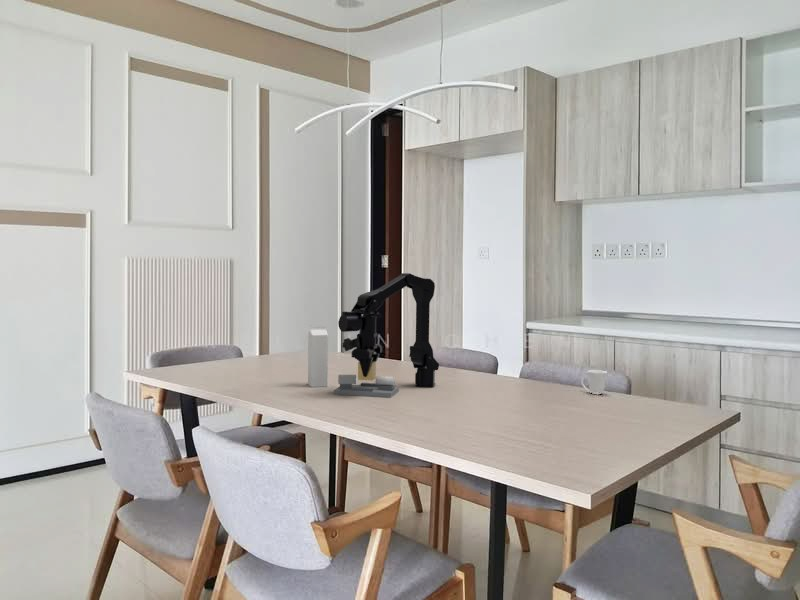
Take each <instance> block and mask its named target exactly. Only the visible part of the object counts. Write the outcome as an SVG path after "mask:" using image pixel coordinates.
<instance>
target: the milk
mask: <svg viewBox="0 0 800 600" xmlns="http://www.w3.org/2000/svg"><path fill="white" fill-rule="evenodd" d="M307 336H308V343H307V344H308V347H307V348H308V349H307V350H308V351H307V352H308V353H307V355H308V356H307V385H308V386H309V387H311V388H322V387H323V388H324V387H325V388H327V387H328V372H329V370H328V369H329V367H328V365H329V364H328V363H329V360H328V359H329V356H328V355H329V334H328V331H327V325H310V327H309V331H308V335H307Z"/></svg>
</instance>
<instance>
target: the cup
mask: <svg viewBox="0 0 800 600" xmlns="http://www.w3.org/2000/svg"><path fill="white" fill-rule="evenodd" d="M608 373H609V372H608V371H605V370H600V369H591V370H590V369H589V370H587V371H586V372H584V373H582V375H581V379H580V381H581V382H580V384H581V386H582V387H583V389H585V391H586V392H588V393H589V392H601V393H602V394H603V395H604V393H603V392H604V391H605V388H606V384H607V379H608V378H607V377H608ZM586 375H587V380H588V386H589V389H588V388H587V386H585V384H584V377H585V376H586ZM592 394H594V393H592ZM592 394H591V395H592Z"/></svg>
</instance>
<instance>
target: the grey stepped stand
mask: <svg viewBox="0 0 800 600" xmlns="http://www.w3.org/2000/svg"><path fill="white" fill-rule="evenodd" d="M337 375H338V376H337V377H338V379H337V381H338V382H337V383H338V385H339V386H338V387H336V388H335V389H333V395H340V396H342V395H343V396H356V397H373V398H388V399H389V398H390V399H391V398H393V396H395V395H396V394H398V393H399V391H400V387H398V386H396V385H395V381H396V380H395V378H396V377H394V376H387V375H386V376H383V375H382V376H381V375H376V378H375V382H374V383H373V382H360V384H357V374H337Z"/></svg>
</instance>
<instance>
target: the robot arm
mask: <svg viewBox="0 0 800 600" xmlns="http://www.w3.org/2000/svg"><path fill="white" fill-rule="evenodd" d="M406 287H407V288H408V289H410V290H411V292H412V297H413V298H414V301H415V304H416V305H415V306H416V307H415V308H416V309H415V340H414V341H415V342H414V343H413V345H410V346H409V356H408V357H409V358H410V362H411V363H412V366H413V368H414V369H416V372H415V375H414V376H415V377H414V378H415V380H414V381H415V382H414V383H415V387H421V388H422V387H423V388H424V387H425V388H428V387H429V388H433V387H435V386H436V383H435V382H436V379H435V377H436V371H438V370H439V367H440V364H439V362H438V361H437V360H436V359H435V357H434V349H433V347H432V344H431V343H430V311H431V309H430V304H431V301H432V300H433V298H434V295H435V288H436V285H435V282H434V280H432V279H431V278H426V277H425V278H423V277H420V276H417V275H414V274H412V273H411V272H409V273H408V272H406V273H405V272H403V273H400V274H399V275H398V276H397V277H395V278H393V279H391V280H390V281H389V282H387V283H385V284H384V285H382V286H380V287H379V288H377V289H373V290H371V291H367V292H364V293H362V294H360V295H358V296H357V301H356V303H355V304H354V305H353V307H352V309H351V310H350V311H342V312H341V315H340V317H339V319H338V323H337V324H338V327H339V330H340V331H341V332H342V333H344V332H345V333H346V332H358V331H359V333H357V334H356V337H355V338H353V339H351V338H350V337H347V338H345V339H343V342H342V344H341V345H342V348H343V349H344V352H349V351H351V350H352V351H351V358H354V359H355V360H357V361H358V362H360V365H361V369H362V373H363V376H364V377H367V375H368V372H369V369H370V366H371V363H372V361H376V362H377V361H378V358H379V357H380V355H381V353H383V346H382V345H381V344H380V343H377V337H378V332H377V318H382V316H383V315H382V314H381V313H380V312H379V311H378V309H379V308H380V307H381V306H382V305H383V304H384V302H385V301H387V299H389V298H390V297H392V296H393V295H395V294H396V293H397V292H399V291H401V290H402V289H405V288H406ZM377 352H378V353H377Z"/></svg>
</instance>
